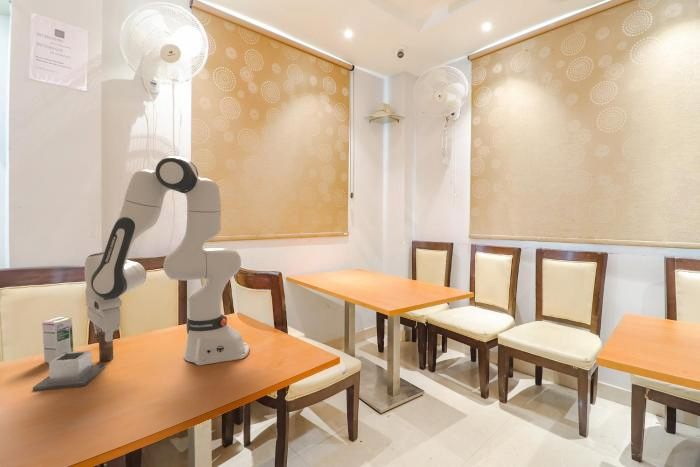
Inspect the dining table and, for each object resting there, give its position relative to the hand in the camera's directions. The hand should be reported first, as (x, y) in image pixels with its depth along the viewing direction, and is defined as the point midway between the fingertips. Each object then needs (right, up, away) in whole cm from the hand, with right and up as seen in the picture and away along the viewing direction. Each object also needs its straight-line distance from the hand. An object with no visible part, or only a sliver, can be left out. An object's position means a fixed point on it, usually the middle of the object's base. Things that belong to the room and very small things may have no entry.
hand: (103, 337), depth 119 cm
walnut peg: (0, -8, +1) cm, 8 cm away
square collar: (-1, -9, -12) cm, 15 cm away
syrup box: (-16, -8, +1) cm, 18 cm away
